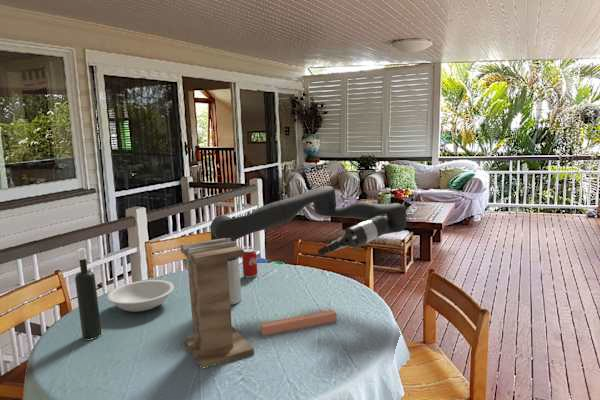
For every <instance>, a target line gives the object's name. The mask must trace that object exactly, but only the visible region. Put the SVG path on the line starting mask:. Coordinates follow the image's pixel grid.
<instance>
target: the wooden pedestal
mask: <svg viewBox="0 0 600 400" xmlns="http://www.w3.org/2000/svg"><path fill="white" fill-rule="evenodd" d="M179 246H180V252H181V253H182V254H183V255H184V257H186V261H187V271H188V284H189V296H190V308H191V319H192V329H193V330H192V331H193V336H190V337H186V338H184V344H185V343H186V344H185V346H186V345H187V346H188V347H187V346H186V347H187V349H188V348H189V349H188V350H190V351H191V352H192V354H193V355H194V357H195V358H194V357H193V358H194V360H195V359H196V360H197V361H196V360H195V361H196V363H197V362H198V363H199V364H198V363H197V364H198V366H199V365H200V366H201V367H200V366H199V367H200V369H201V368H203V367H207V366H211V365H214V364H218V363H221V364H224V363H228V362H231V361H235V360H237V359H241V358H244V357H247V356H251V355H254V354H255V349H254V347H253V346H252V345H251V344H250V342H248V341H247V340H246V339H245V338H244V337H243V335H241V333H240V332H239V331H238V330H237V329H236V328H235V327H234V326H233V325H232V324H233V323H232V313H231V305H230V293H229V278H228V264H227V259H232V258H237V257H239V258H242V256H244V251H243V250H244V249H243V248H241V246H238V245H237V240H235V241H233V242H231V238H227V239H225V238H222V239H215V240H210V239H209V240H204V241H198V242H193V243H192V242H191V243H187V244H186V243H185V244H180V245H179ZM190 351H189V352H190ZM191 352H190V353H191ZM192 354H191V355H192ZM193 355H192V356H193ZM227 361H228V362H227ZM223 362H224V363H223ZM218 365H219V364H218ZM214 366H215V365H214ZM211 367H212V366H211ZM207 368H208V367H207Z"/></svg>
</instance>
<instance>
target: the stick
mask: <svg viewBox="0 0 600 400" xmlns="http://www.w3.org/2000/svg"><path fill="white" fill-rule="evenodd" d="M337 320H338V319H337V312H336V311H335V310H334V309H327V310H322V311H317V312H312V313H307V314H301V315H295V316H291V317H286V318H282V319H281V318H280V319H275V320H270V321H266V322H259V331H260V333H261V334H262V336H266V335H273V334H276V333H283V332H287V331H292V330H297V329H303V328H308V327H313V326H318V325H323V324H327V323H333V322H337Z"/></svg>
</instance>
